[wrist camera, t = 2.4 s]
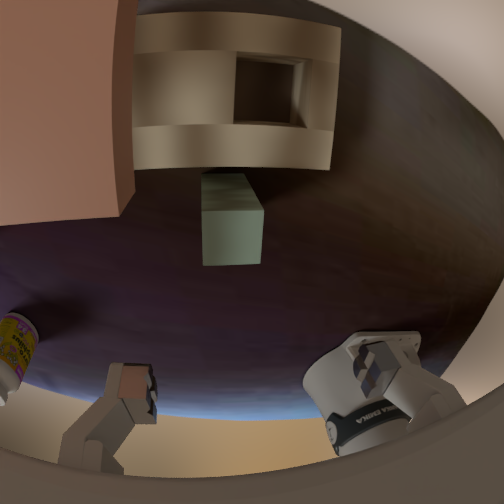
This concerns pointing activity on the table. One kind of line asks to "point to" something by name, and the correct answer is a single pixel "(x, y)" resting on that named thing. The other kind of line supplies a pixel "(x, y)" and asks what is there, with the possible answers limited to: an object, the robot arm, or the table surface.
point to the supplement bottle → (15, 352)
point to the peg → (230, 220)
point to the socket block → (233, 91)
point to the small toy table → (65, 109)
